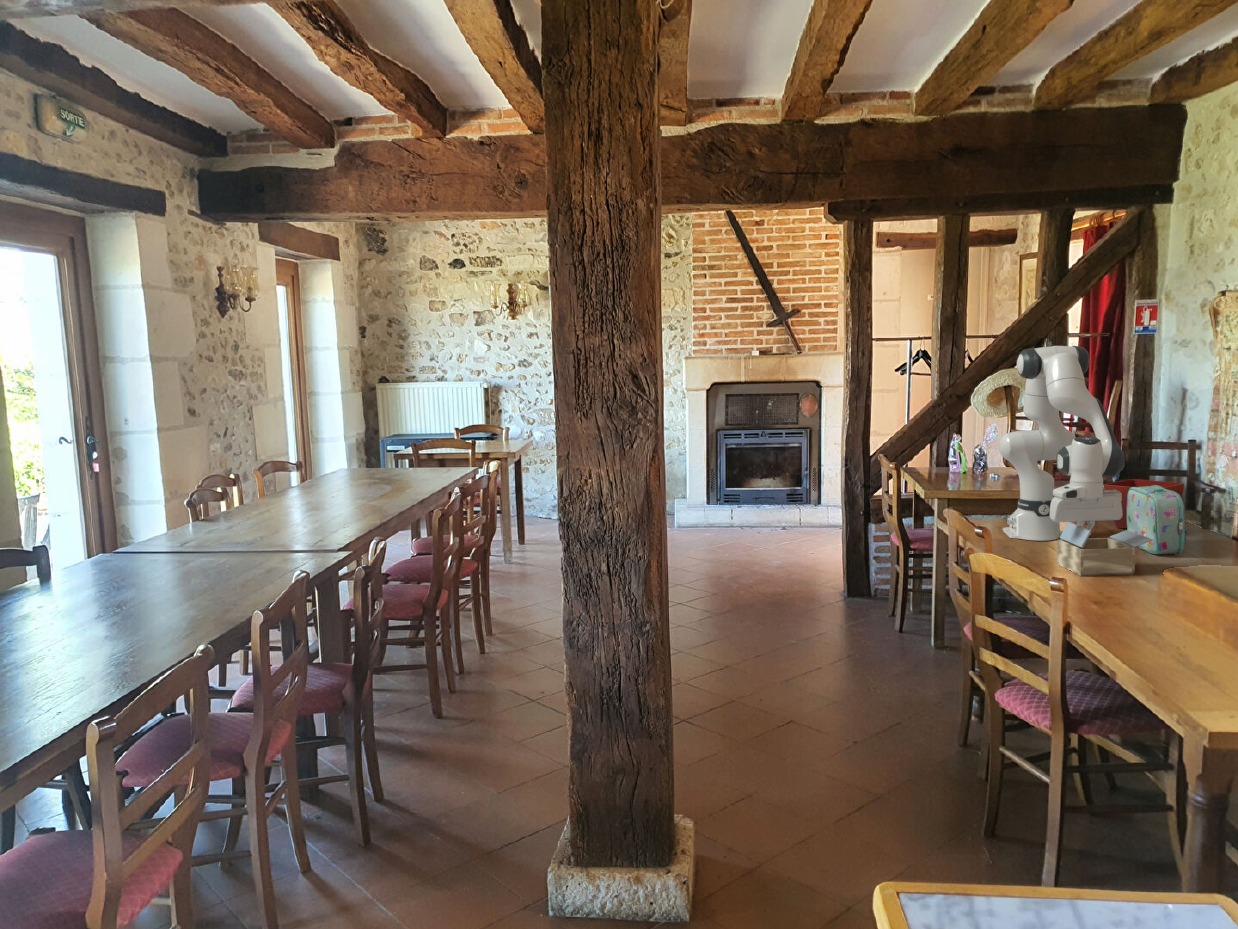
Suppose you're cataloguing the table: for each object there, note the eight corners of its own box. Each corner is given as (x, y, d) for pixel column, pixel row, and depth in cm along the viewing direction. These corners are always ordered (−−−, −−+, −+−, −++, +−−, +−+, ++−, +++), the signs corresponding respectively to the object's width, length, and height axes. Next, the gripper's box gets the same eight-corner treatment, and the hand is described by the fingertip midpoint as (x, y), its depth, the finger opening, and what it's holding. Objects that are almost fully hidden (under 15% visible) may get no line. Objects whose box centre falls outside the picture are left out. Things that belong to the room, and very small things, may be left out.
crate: (1057, 564, 262) (1057, 539, 261) (1108, 562, 261) (1108, 537, 260) (1080, 576, 247) (1080, 550, 246) (1134, 574, 246) (1135, 548, 245)
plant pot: (1101, 528, 311) (1102, 483, 309) (1131, 521, 320) (1132, 478, 318) (1154, 536, 295) (1155, 489, 293) (1184, 528, 303) (1185, 483, 302)
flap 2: (1109, 536, 260) (1126, 529, 259) (1110, 537, 260) (1127, 531, 259) (1133, 545, 246) (1152, 539, 246) (1134, 547, 246) (1152, 540, 246)
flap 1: (1059, 537, 260) (1068, 522, 260) (1061, 538, 260) (1069, 522, 260) (1081, 547, 247) (1089, 530, 246) (1082, 547, 247) (1091, 531, 246)
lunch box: (1191, 558, 262) (1193, 491, 259) (1155, 558, 264) (1156, 492, 261) (1154, 540, 288) (1156, 479, 285) (1122, 540, 290) (1123, 480, 287)
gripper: (1115, 487, 254) (1115, 531, 256) (1047, 490, 255) (1046, 534, 257) (1127, 490, 248) (1126, 536, 249) (1057, 493, 249) (1056, 538, 251)
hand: (1085, 535), depth 253 cm, fingers closed
